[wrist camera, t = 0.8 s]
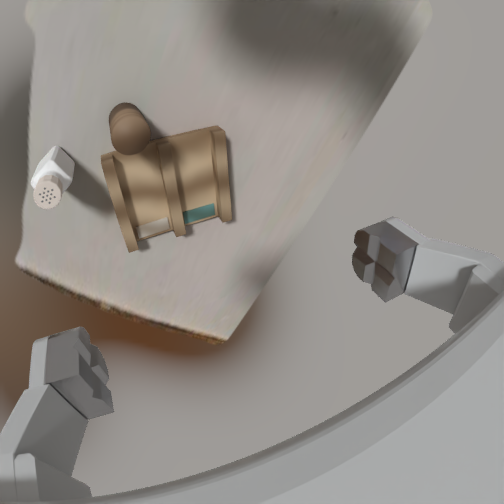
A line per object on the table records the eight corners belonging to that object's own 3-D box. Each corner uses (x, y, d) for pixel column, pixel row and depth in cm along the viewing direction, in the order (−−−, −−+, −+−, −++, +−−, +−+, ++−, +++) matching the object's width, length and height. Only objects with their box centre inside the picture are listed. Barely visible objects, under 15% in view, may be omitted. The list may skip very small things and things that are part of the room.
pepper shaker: (56, 183, 34) (49, 220, 27) (36, 164, 31) (22, 197, 24) (77, 162, 34) (72, 194, 27) (56, 142, 31) (46, 169, 24)
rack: (100, 155, 35) (101, 163, 33) (217, 125, 40) (225, 131, 38) (126, 240, 44) (129, 252, 42) (224, 210, 49) (232, 219, 47)
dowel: (106, 107, 32) (107, 123, 25) (137, 99, 33) (147, 112, 27) (112, 136, 34) (116, 160, 28) (142, 128, 35) (153, 149, 29)
